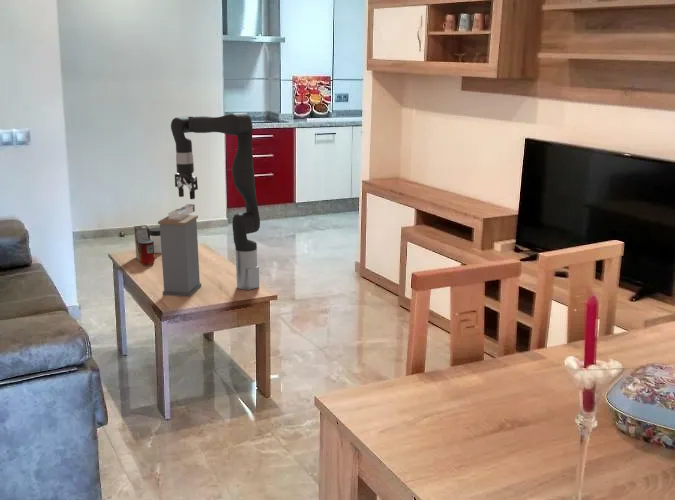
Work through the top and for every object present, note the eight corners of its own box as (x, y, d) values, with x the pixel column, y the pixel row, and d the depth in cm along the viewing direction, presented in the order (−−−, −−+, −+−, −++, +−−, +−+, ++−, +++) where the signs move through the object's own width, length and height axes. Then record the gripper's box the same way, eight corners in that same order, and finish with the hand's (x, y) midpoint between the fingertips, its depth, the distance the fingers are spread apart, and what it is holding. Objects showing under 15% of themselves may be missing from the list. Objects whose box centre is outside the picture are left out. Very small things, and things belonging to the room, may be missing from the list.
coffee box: (152, 260, 357) (149, 228, 353) (139, 261, 355) (136, 230, 350) (148, 255, 365) (146, 224, 361) (135, 257, 363) (133, 226, 358)
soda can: (158, 263, 352) (156, 239, 348) (147, 267, 346) (145, 242, 343) (147, 261, 355) (145, 237, 352) (137, 265, 349) (135, 240, 346)
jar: (148, 254, 368) (146, 231, 365) (150, 250, 376) (148, 227, 372) (166, 253, 369) (164, 230, 366) (167, 249, 377) (166, 227, 374)
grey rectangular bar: (180, 220, 299) (179, 213, 298) (168, 220, 300) (168, 213, 299) (196, 211, 317) (196, 204, 316) (186, 210, 318) (185, 204, 317)
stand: (189, 296, 304) (185, 222, 296) (162, 294, 306) (157, 221, 298) (201, 286, 318) (197, 215, 309) (175, 284, 320) (171, 214, 311)
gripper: (201, 162, 320) (203, 198, 324) (182, 159, 329) (184, 194, 334) (187, 164, 315) (189, 201, 319) (168, 161, 324) (170, 197, 328)
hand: (186, 197), depth 326 cm, fingers open, 8 cm apart
